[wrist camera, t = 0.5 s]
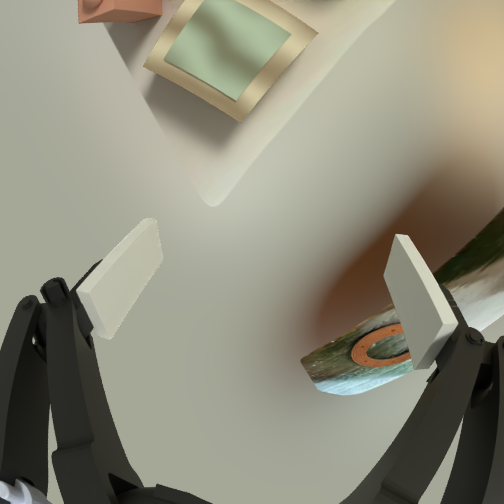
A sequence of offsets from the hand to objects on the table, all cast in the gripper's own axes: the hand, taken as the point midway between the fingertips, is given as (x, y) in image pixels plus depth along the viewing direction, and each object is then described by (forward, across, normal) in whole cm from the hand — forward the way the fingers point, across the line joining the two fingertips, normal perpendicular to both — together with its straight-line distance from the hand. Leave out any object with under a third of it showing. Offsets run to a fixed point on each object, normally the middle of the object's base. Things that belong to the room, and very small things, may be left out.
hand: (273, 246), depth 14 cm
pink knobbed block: (+21, -18, +23) cm, 36 cm away
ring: (+38, +34, -51) cm, 72 cm away
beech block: (+23, -7, +15) cm, 29 cm away
